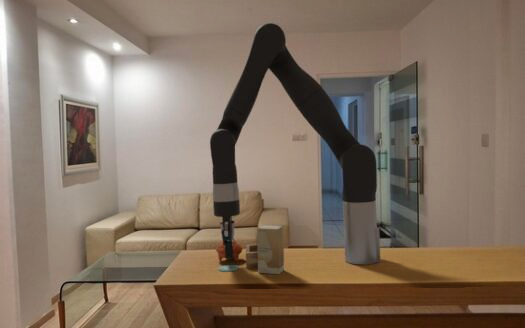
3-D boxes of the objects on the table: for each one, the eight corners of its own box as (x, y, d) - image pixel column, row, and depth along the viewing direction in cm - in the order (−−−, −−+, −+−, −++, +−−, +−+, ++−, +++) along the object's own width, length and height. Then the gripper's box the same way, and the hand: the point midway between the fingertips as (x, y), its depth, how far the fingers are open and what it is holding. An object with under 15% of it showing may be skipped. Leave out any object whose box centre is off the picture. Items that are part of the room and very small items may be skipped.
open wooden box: (273, 257, 118) (272, 243, 118) (274, 266, 108) (273, 251, 108) (247, 258, 118) (246, 244, 118) (246, 268, 108) (245, 253, 108)
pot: (217, 256, 121) (221, 235, 121) (241, 261, 121) (245, 240, 121) (211, 262, 113) (215, 240, 113) (237, 268, 113) (241, 245, 113)
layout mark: (239, 264, 111) (239, 264, 111) (238, 271, 105) (238, 270, 105) (219, 265, 111) (219, 265, 111) (216, 272, 105) (216, 271, 105)
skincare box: (257, 273, 103) (255, 227, 102) (263, 268, 107) (261, 224, 106) (280, 274, 100) (278, 228, 100) (285, 270, 104) (283, 225, 104)
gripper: (238, 200, 104) (241, 264, 104) (240, 195, 117) (243, 252, 118) (210, 202, 104) (213, 265, 104) (215, 197, 117) (218, 253, 118)
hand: (229, 258), depth 111 cm, fingers closed
